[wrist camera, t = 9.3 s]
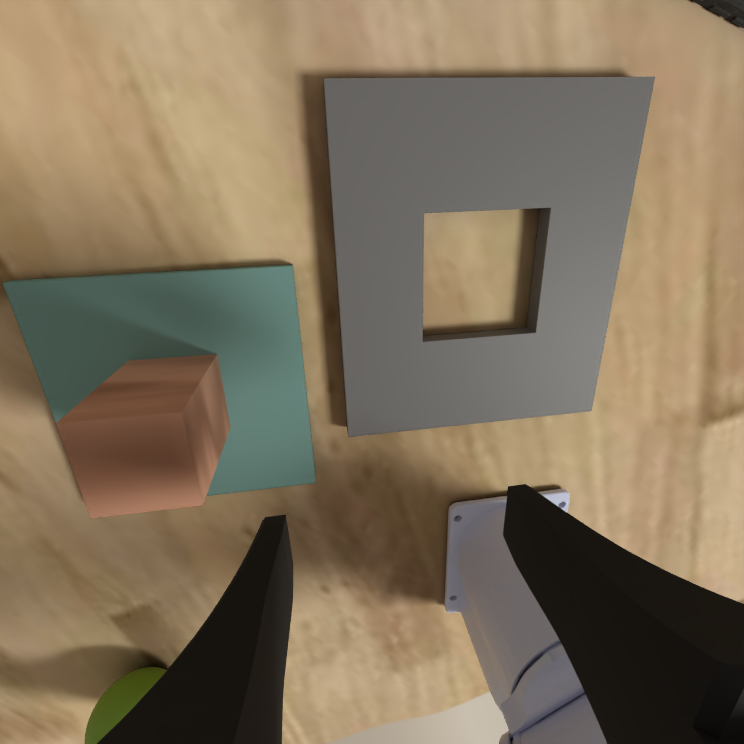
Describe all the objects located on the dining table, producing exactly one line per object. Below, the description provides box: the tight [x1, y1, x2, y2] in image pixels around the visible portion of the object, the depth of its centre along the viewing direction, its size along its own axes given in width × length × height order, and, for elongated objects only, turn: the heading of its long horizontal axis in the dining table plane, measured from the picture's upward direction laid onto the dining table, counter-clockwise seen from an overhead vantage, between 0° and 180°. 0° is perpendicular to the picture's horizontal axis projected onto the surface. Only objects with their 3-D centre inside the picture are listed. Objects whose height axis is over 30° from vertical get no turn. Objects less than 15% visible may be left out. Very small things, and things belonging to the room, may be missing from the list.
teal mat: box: [3, 264, 316, 496], centre depth 20 cm, size 12×12×1 cm
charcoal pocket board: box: [323, 77, 655, 437], centre depth 20 cm, size 16×14×1 cm
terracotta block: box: [55, 354, 231, 518], centre depth 17 cm, size 4×4×6 cm
